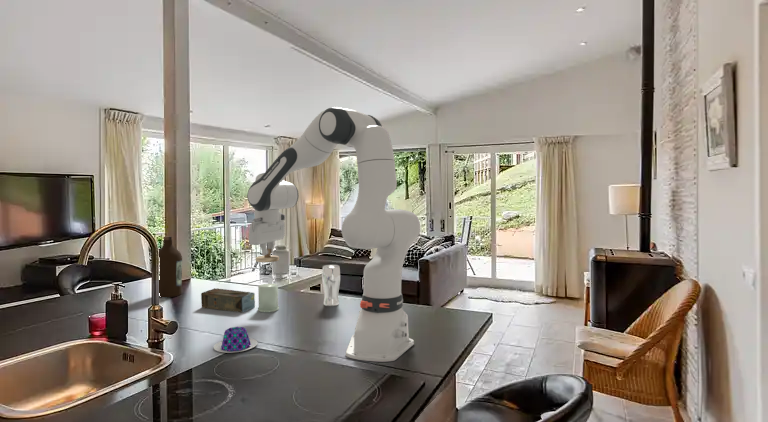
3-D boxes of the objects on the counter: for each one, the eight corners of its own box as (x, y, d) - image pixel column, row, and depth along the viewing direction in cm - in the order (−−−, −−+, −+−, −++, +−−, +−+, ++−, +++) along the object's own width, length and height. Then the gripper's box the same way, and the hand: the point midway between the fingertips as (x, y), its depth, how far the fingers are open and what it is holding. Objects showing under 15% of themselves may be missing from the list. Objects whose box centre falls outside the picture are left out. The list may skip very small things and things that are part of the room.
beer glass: (339, 306, 170) (338, 267, 169) (321, 306, 170) (320, 267, 169) (341, 301, 177) (341, 264, 176) (323, 301, 177) (323, 264, 176)
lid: (272, 262, 160) (272, 251, 159) (251, 261, 162) (251, 250, 161) (283, 259, 168) (283, 248, 167) (263, 258, 170) (263, 247, 170)
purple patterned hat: (206, 347, 128) (206, 329, 127) (245, 337, 136) (245, 320, 136) (224, 358, 119) (224, 339, 119) (265, 347, 127) (265, 329, 127)
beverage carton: (242, 313, 162) (242, 295, 161) (200, 308, 168) (199, 291, 168) (255, 307, 169) (255, 290, 169) (214, 303, 176) (214, 287, 175)
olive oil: (152, 298, 182) (150, 238, 181) (159, 292, 192) (157, 235, 191) (180, 297, 184) (178, 237, 183) (185, 291, 195) (184, 234, 193)
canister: (272, 313, 161) (272, 288, 161) (253, 311, 163) (253, 287, 162) (282, 307, 168) (282, 284, 168) (264, 306, 170) (264, 283, 170)
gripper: (260, 219, 153) (260, 258, 154) (287, 215, 173) (287, 250, 174) (243, 218, 155) (244, 258, 155) (272, 215, 174) (273, 250, 175)
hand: (267, 254), depth 165 cm, fingers closed on lid, 2 cm apart
